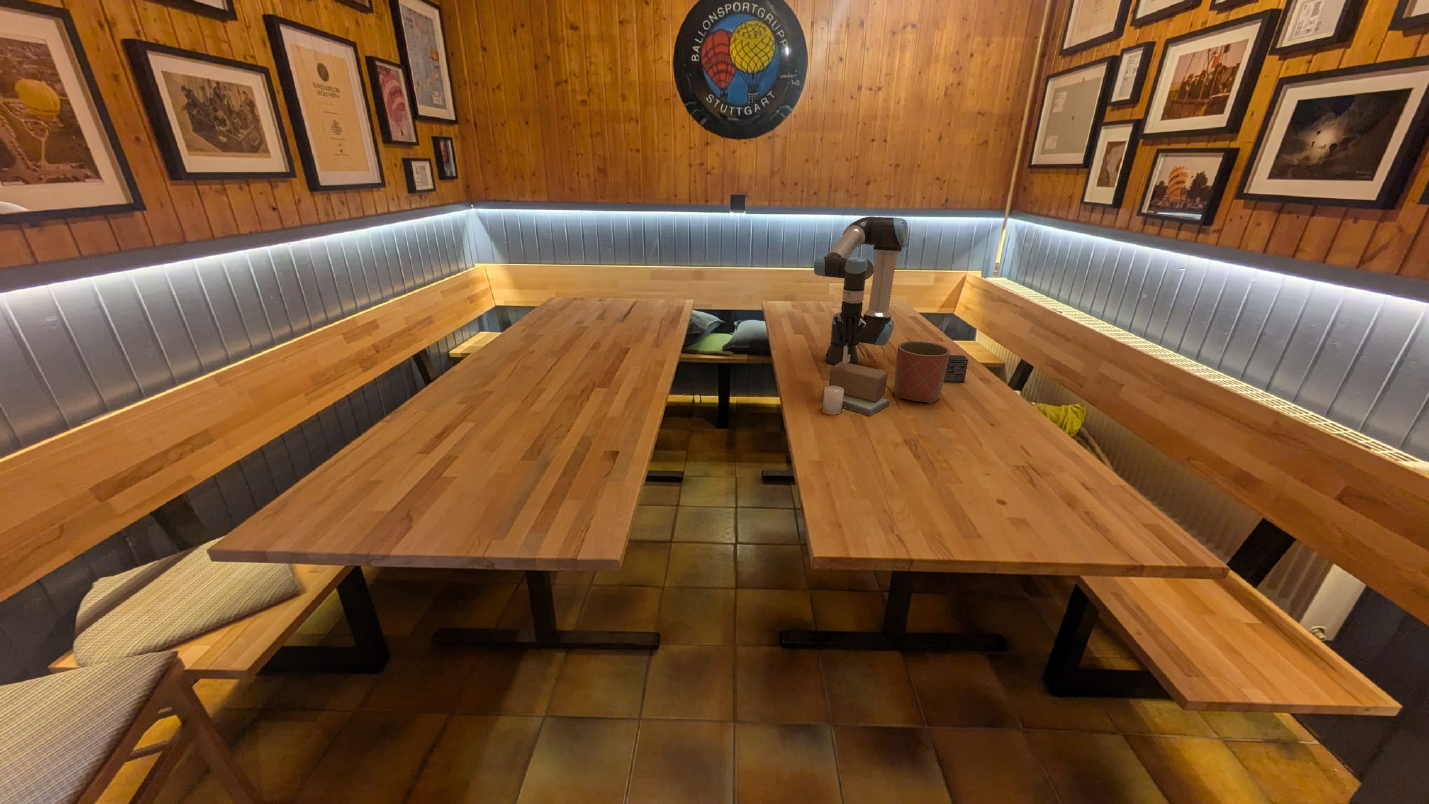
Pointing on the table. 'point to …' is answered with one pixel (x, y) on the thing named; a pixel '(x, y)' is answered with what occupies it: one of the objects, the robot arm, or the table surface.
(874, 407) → the grey rectangular slab
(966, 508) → the table surface
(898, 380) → the planter
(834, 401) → the white rounded cylinder
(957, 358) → the small box
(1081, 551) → the table surface
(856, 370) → the wooden block
